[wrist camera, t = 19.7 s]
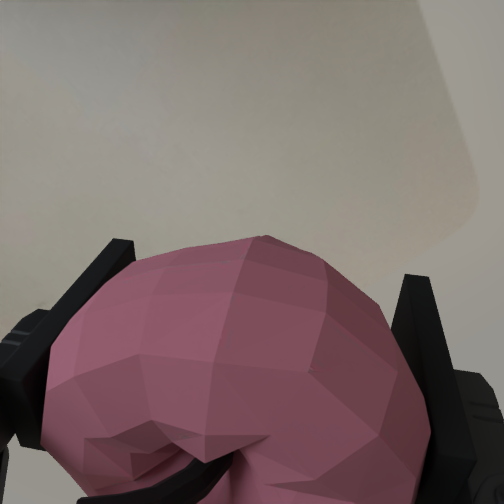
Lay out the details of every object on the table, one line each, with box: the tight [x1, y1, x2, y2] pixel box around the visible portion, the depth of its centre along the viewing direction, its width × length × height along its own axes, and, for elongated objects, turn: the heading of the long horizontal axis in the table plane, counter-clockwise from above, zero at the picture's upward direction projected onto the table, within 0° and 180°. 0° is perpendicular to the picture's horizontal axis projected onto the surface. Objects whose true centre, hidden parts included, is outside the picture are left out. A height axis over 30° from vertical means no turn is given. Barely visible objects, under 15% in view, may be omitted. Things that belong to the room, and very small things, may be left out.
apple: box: [40, 235, 431, 504], centre depth 12 cm, size 10×9×10 cm
